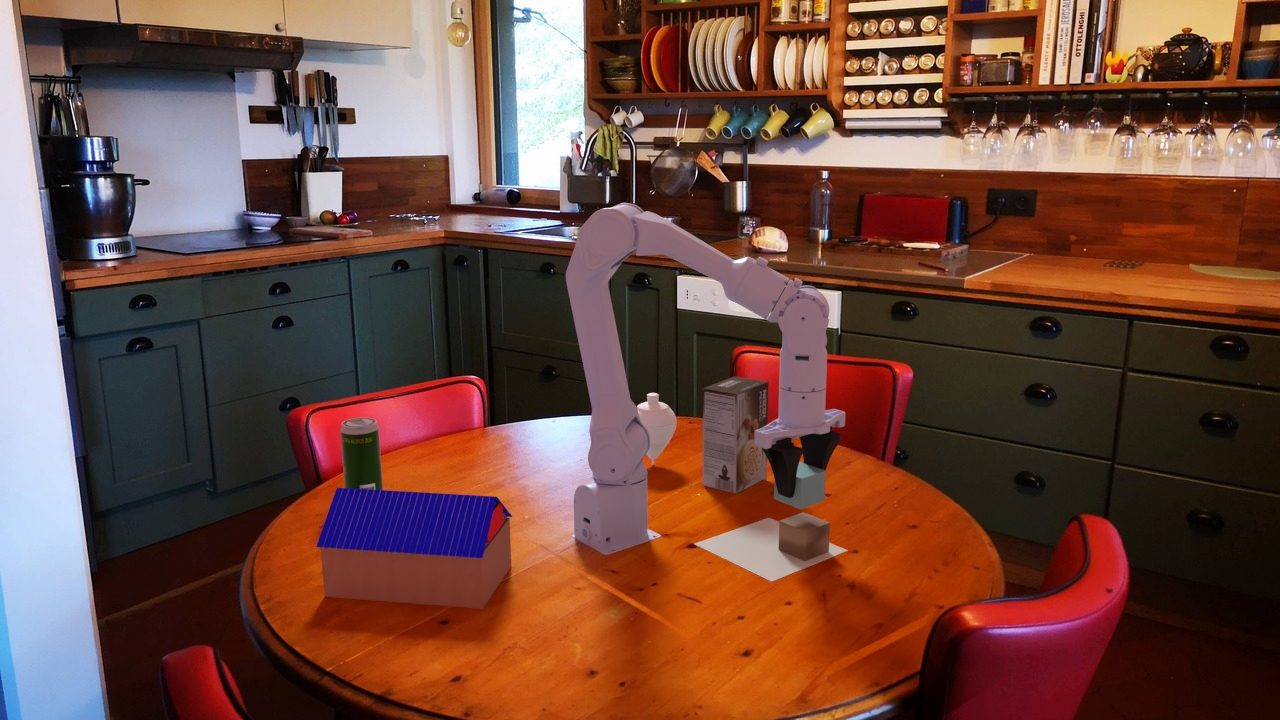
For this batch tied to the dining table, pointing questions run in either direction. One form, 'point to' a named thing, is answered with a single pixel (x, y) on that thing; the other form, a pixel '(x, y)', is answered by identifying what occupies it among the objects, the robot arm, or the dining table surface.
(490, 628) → the dining table surface
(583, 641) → the dining table surface
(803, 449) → the robot arm
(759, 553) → the mat
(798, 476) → the teal block
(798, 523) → the walnut block
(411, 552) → the house
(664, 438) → the spinning top
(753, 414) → the coffee box
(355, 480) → the beer can
